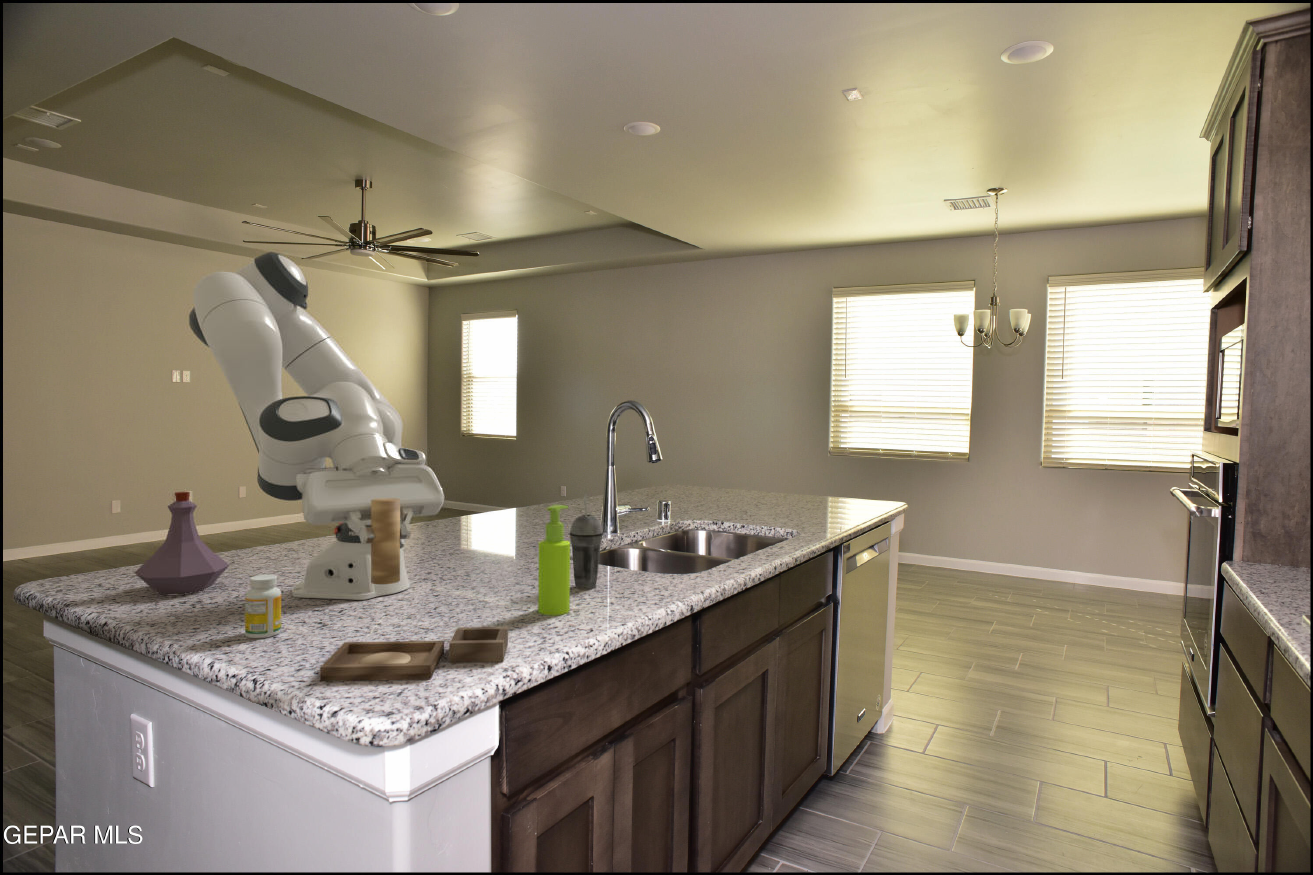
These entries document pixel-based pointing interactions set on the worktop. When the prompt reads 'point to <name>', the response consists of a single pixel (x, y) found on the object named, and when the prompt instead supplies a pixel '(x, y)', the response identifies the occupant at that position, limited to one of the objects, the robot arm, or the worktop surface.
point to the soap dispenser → (554, 567)
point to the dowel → (385, 541)
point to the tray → (383, 661)
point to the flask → (182, 555)
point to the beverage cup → (585, 549)
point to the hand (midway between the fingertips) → (387, 538)
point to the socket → (478, 644)
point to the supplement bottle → (263, 607)
